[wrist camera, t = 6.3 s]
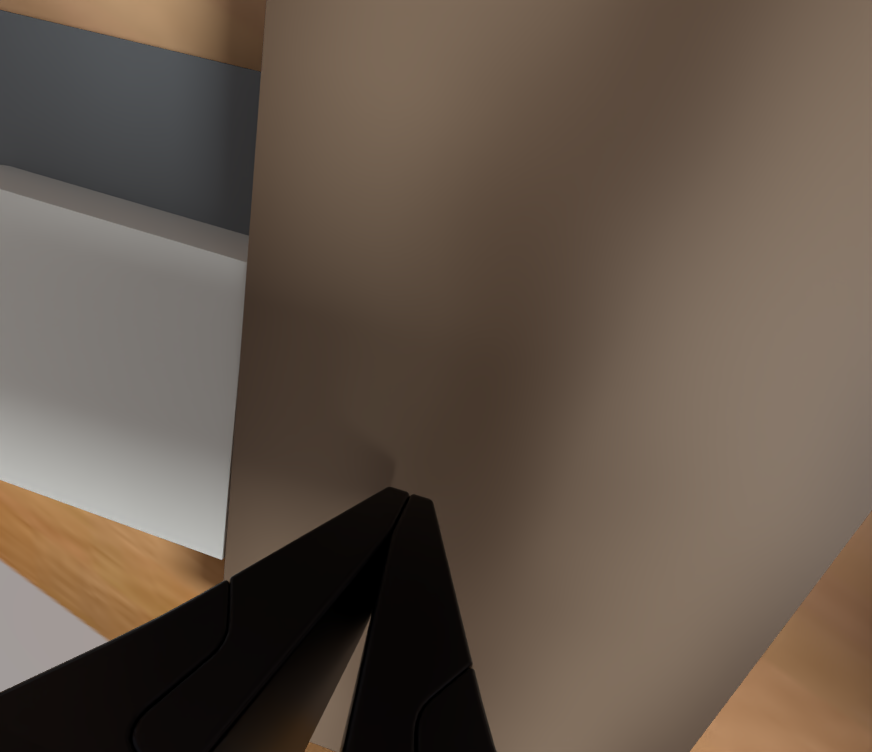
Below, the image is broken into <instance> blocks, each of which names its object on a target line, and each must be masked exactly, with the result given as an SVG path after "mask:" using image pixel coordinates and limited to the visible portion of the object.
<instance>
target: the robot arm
mask: <svg viewBox="0 0 872 752" xmlns="http://www.w3.org/2000/svg"><path fill="white" fill-rule="evenodd" d="M370 617H371V618H370ZM369 619H370V622H369ZM368 622H369V627H368V631H367V635H366V639H365V643H364V648H363V652H362V656H361V661H360V665H359V669H358V673H357V678H356V682H355V686H354V691H353V695H352V699H351V704H350V708H349V712H348V716H347V721H346V725H345V729H344V734H343V738H342V742H341V747H340V751H339V752H497V751H496V748H495V745H494V741H493V737H492V734H491V730H490V727H489V723H488V719H487V716H486V712H485V709H484V705H483V701H482V698H481V694H480V690H479V685H478V681H477V677H476V673H475V670H474V669H473V668H472V667H473V662H472V658H471V654H470V650H469V646H468V642H467V638H466V633H465V629H464V625H463V621H462V617H461V613H460V609H459V605H458V601H457V597H456V593H455V589H454V584H453V580H452V576H451V572H450V568H449V564H448V560H447V556H446V552H445V548H444V544H443V540H442V535H441V531H440V527H439V523H438V519H437V515H436V511H435V507H434V503H433V501H432V500H431V499H428V498H425V497H422V496H419V495H416V494H412V495H411V496H410V495H409V493H408V492H406V491H403V490H400V489H397V488H394V487H386V488H384V489H383V490H381V491H379V492H378V493H376V494H374V495H372V496H371V497H369V498H367V499H365V500H364V501H362V502H360V503H358V504H357V505H355V506H353V507H351V508H350V509H348V510H346V511H345V512H343V513H341V514H339V515H338V516H336V517H334V518H332V519H331V520H329V521H327V522H325V523H324V524H322V525H320V526H318V527H317V528H315V529H313V530H312V531H310V532H308V533H306V534H305V535H303V536H301V537H299V538H298V539H296V540H294V541H292V542H291V543H289V544H287V545H285V546H284V547H282V548H280V549H279V550H277V551H275V552H273V553H272V554H270V555H268V556H266V557H265V558H263V559H261V560H259V561H258V562H256V563H254V564H252V565H251V566H249V567H247V568H246V569H244V570H242V571H240V572H239V573H237V574H235V575H233V576H232V577H231V578H230V579H229V581H227V580H224V581H223V582H221V583H219V584H217V585H216V586H214V587H212V588H210V589H209V590H207V591H205V592H203V593H202V594H200V595H198V596H196V597H194V598H193V599H191V600H189V601H187V602H185V603H183V604H181V605H180V606H178V607H176V608H174V609H172V610H170V611H169V612H167V613H165V614H163V615H161V616H159V617H157V618H155V619H153V620H151V621H149V622H147V623H145V624H143V625H141V626H139V627H137V628H135V629H133V630H131V631H129V632H127V633H125V634H123V635H121V636H119V637H117V638H115V639H113V640H111V641H109V642H107V643H104V644H103V645H100V646H98V647H96V648H94V649H92V650H90V651H87V652H85V653H83V654H81V655H79V656H77V657H75V658H73V659H70V660H68V661H66V662H64V663H62V664H60V665H58V666H55V667H53V668H51V669H49V670H47V671H45V672H43V673H40V674H38V675H37V676H34V677H32V678H30V679H28V680H26V681H23V682H21V683H19V684H17V685H15V686H13V687H11V688H8V689H6V690H4V691H2V692H0V752H304V751H305V749H306V747H307V745H308V743H309V741H310V739H311V737H312V735H313V733H314V731H315V729H316V727H317V725H318V723H319V721H320V719H321V717H322V715H323V713H324V711H325V709H326V707H327V705H328V703H329V701H330V699H331V697H332V695H333V693H334V691H335V689H336V687H337V685H338V683H339V681H340V679H341V677H342V675H343V673H344V671H345V669H346V667H347V665H348V663H349V661H350V659H351V657H352V655H353V653H354V651H355V649H356V647H357V645H358V643H359V641H360V639H361V637H362V635H363V632H364V630H365V628H366V626H367V624H368Z"/></svg>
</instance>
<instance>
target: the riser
mask: <svg viewBox="0 0 872 752" xmlns="http://www.w3.org/2000/svg"><path fill="white" fill-rule="evenodd" d="M386 487H394V488H397V489H400V490H403V491H406V492H408V493H409V495H410V496H411V495H412V494H416V495H419V496H422V497H425V498H428V499H431V500H432V501H433V503H434V507H435V511H436V515H437V519H438V523H439V527H440V531H441V535H442V540H443V544H444V548H445V552H446V556H447V560H448V564H449V568H450V572H451V576H452V580H453V584H454V589H455V593H456V597H457V601H458V605H459V609H460V613H461V617H462V621H463V625H464V629H465V633H466V638H467V642H468V646H469V650H470V654H471V658H472V662H473V667H472V668H473V669H474V670H475V673H476V677H477V681H478V685H479V690H480V694H481V698H482V701H483V705H484V709H485V712H486V716H487V719H488V723H489V727H490V730H491V734H492V737H493V741H494V745H495V748H496V751H497V752H690V750H691V749H692V748H693V746H694V745H695V744H696V742H697V741H698V740H699V739H700V737H701V736H702V735H703V733H704V732H705V731H706V729H707V728H708V727H709V725H710V724H711V723H712V721H713V720H714V719H715V717H716V716H717V715H718V713H719V712H720V711H721V709H722V708H723V707H724V705H725V704H726V703H727V701H728V700H729V699H730V697H731V696H732V695H733V693H734V692H735V691H736V690H737V688H738V687H739V686H740V684H741V683H742V682H743V680H744V679H745V678H746V676H747V675H748V674H749V672H750V671H751V670H752V668H753V667H754V666H755V664H756V663H757V662H758V660H759V659H760V658H761V656H762V655H763V654H764V652H765V651H766V650H767V648H768V647H769V646H770V644H771V643H772V642H773V641H774V639H775V638H776V637H777V635H778V634H779V633H780V631H781V630H782V629H783V627H784V626H785V625H786V623H787V622H788V621H789V619H790V618H791V617H792V615H793V614H794V613H795V611H796V610H797V609H798V607H799V606H800V605H801V603H802V602H803V601H804V599H805V598H806V597H807V595H808V594H809V593H810V592H811V590H812V589H813V588H814V586H815V585H816V584H817V582H818V581H819V580H820V578H821V577H822V576H823V574H824V573H825V572H826V570H827V569H828V568H829V566H830V565H831V564H832V562H833V561H834V560H835V558H836V557H837V556H838V554H839V553H840V552H841V550H842V549H843V548H844V547H845V545H846V544H847V543H848V541H849V540H850V539H851V537H852V536H853V535H854V533H855V532H856V531H857V529H858V528H859V527H860V525H861V524H862V523H863V521H864V520H865V519H866V517H867V516H868V515H869V513H870V512H871V511H872V0H266V13H265V27H264V40H263V54H262V67H261V81H260V94H259V108H258V121H257V135H256V148H255V162H254V175H253V189H252V203H251V216H250V230H249V243H248V257H247V270H246V284H245V297H244V311H243V324H242V338H241V351H240V365H239V379H238V392H237V406H236V419H235V433H234V446H233V460H232V473H231V487H230V500H229V514H228V527H227V541H226V554H225V568H224V580H227V581H229V579H230V578H231V577H232V576H233V575H235V574H237V573H239V572H240V571H242V570H244V569H246V568H247V567H249V566H251V565H252V564H254V563H256V562H258V561H259V560H261V559H263V558H265V557H266V556H268V555H270V554H272V553H273V552H275V551H277V550H279V549H280V548H282V547H284V546H285V545H287V544H289V543H291V542H292V541H294V540H296V539H298V538H299V537H301V536H303V535H305V534H306V533H308V532H310V531H312V530H313V529H315V528H317V527H318V526H320V525H322V524H324V523H325V522H327V521H329V520H331V519H332V518H334V517H336V516H338V515H339V514H341V513H343V512H345V511H346V510H348V509H350V508H351V507H353V506H355V505H357V504H358V503H360V502H362V501H364V500H365V499H367V498H369V497H371V496H372V495H374V494H376V493H378V492H379V491H381V490H383V489H384V488H386ZM370 618H371V617H370ZM369 622H370V619H369ZM369 622H368V624H367V626H366V628H365V630H364V632H363V635H362V637H361V639H360V641H359V643H358V645H357V647H356V649H355V651H354V653H353V655H352V657H351V659H350V661H349V663H348V665H347V667H346V669H345V671H344V673H343V675H342V677H341V679H340V681H339V683H338V685H337V687H336V689H335V691H334V693H333V695H332V697H331V699H330V701H329V703H328V705H327V707H326V709H325V711H324V713H323V715H322V717H321V719H320V721H319V723H318V725H317V727H316V729H315V731H314V733H313V735H312V737H311V739H310V741H309V742H312V743H314V744H317V745H320V746H322V747H325V748H327V749H330V750H333V751H335V752H339V751H340V747H341V742H342V738H343V734H344V729H345V725H346V721H347V716H348V712H349V708H350V704H351V699H352V695H353V691H354V686H355V682H356V678H357V673H358V669H359V665H360V661H361V656H362V652H363V648H364V643H365V639H366V635H367V631H368V627H369Z"/></svg>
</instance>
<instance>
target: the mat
mask: <svg viewBox="0 0 872 752" xmlns="http://www.w3.org/2000/svg"><path fill="white" fill-rule="evenodd" d="M260 81H261V72H259V71H255V70H251V69H247V68H242V67H238V66H234V65H230V64H226V63H221V62H217V61H213V60H209V59H204V58H200V57H196V56H192V55H188V54H183V53H179V52H175V51H171V50H167V49H162V48H158V47H154V46H150V45H145V44H141V43H137V42H133V41H129V40H124V39H120V38H116V37H112V36H108V35H103V34H99V33H95V32H91V31H87V30H82V29H78V28H74V27H70V26H65V25H61V24H57V23H53V22H49V21H44V20H40V19H36V18H32V17H28V16H23V15H19V14H15V13H11V12H6V11H2V10H0V165H6V166H11V167H15V168H18V169H22V170H25V171H28V172H32V173H35V174H39V175H42V176H46V177H49V178H52V179H56V180H59V181H63V182H66V183H69V184H73V185H76V186H80V187H83V188H87V189H90V190H93V191H97V192H100V193H104V194H107V195H111V196H114V197H117V198H121V199H124V200H128V201H131V202H135V203H138V204H141V205H145V206H148V207H152V208H155V209H159V210H162V211H165V212H169V213H172V214H176V215H179V216H183V217H186V218H189V219H193V220H196V221H200V222H203V223H207V224H210V225H213V226H217V227H220V228H224V229H227V230H231V231H234V232H237V233H241V234H244V235H248V236H249V230H250V216H251V203H252V189H253V175H254V162H255V148H256V135H257V121H258V108H259V94H260Z"/></svg>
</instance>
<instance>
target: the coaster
mask: <svg viewBox="0 0 872 752" xmlns="http://www.w3.org/2000/svg"><path fill="white" fill-rule="evenodd" d="M248 243H249V236H248V235H244V234H241V233H237V232H234V231H231V230H227V229H224V228H220V227H217V226H213V225H210V224H207V223H203V222H200V221H196V220H193V219H189V218H186V217H183V216H179V215H176V214H172V213H169V212H165V211H162V210H159V209H155V208H152V207H148V206H145V205H141V204H138V203H135V202H131V201H128V200H124V199H121V198H117V197H114V196H111V195H107V194H104V193H100V192H97V191H93V190H90V189H87V188H83V187H80V186H76V185H73V184H69V183H66V182H63V181H59V180H56V179H52V178H49V177H46V176H42V175H39V174H35V173H32V172H28V171H25V170H22V169H18V168H15V167H11V166H6V165H0V480H2V481H5V482H8V483H11V484H13V485H16V486H19V487H22V488H24V489H27V490H30V491H33V492H35V493H38V494H41V495H44V496H46V497H49V498H52V499H55V500H58V501H60V502H63V503H66V504H69V505H71V506H74V507H77V508H80V509H82V510H85V511H88V512H91V513H94V514H96V515H99V516H102V517H105V518H107V519H110V520H113V521H116V522H118V523H121V524H124V525H127V526H129V527H132V528H135V529H138V530H141V531H143V532H146V533H149V534H152V535H154V536H157V537H160V538H163V539H165V540H168V541H171V542H174V543H176V544H179V545H182V546H185V547H188V548H190V549H193V550H196V551H199V552H201V553H204V554H207V555H210V556H212V557H215V558H218V559H221V560H222V559H223V558H224V557H225V554H226V541H227V527H228V514H229V500H230V487H231V473H232V460H233V446H234V433H235V419H236V406H237V392H238V379H239V365H240V351H241V338H242V324H243V311H244V297H245V284H246V270H247V257H248Z"/></svg>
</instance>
